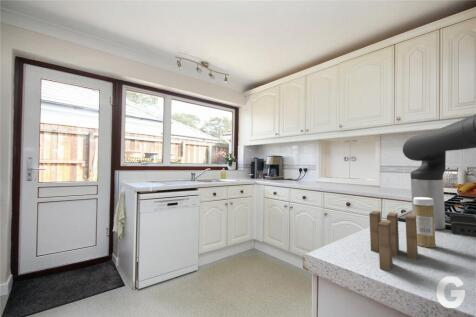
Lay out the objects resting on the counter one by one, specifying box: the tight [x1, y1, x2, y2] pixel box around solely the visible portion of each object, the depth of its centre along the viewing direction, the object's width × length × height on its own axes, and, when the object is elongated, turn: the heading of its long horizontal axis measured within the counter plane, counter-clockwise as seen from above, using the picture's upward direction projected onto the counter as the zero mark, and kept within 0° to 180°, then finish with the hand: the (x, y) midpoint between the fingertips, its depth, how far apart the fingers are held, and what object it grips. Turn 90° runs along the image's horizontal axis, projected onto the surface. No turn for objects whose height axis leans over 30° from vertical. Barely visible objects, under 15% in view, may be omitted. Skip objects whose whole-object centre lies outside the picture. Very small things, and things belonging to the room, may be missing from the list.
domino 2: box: [386, 211, 400, 257], centre depth 62 cm, size 5×2×10 cm, turn 139°
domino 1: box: [378, 219, 394, 272], centre depth 53 cm, size 5×2×10 cm, turn 139°
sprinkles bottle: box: [413, 197, 437, 248], centre depth 66 cm, size 5×5×14 cm
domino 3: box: [405, 213, 419, 260], centre depth 59 cm, size 5×2×10 cm, turn 139°
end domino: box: [369, 210, 382, 253], centre depth 64 cm, size 5×2×10 cm, turn 139°
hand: (450, 223), depth 46 cm, fingers open, 8 cm apart
